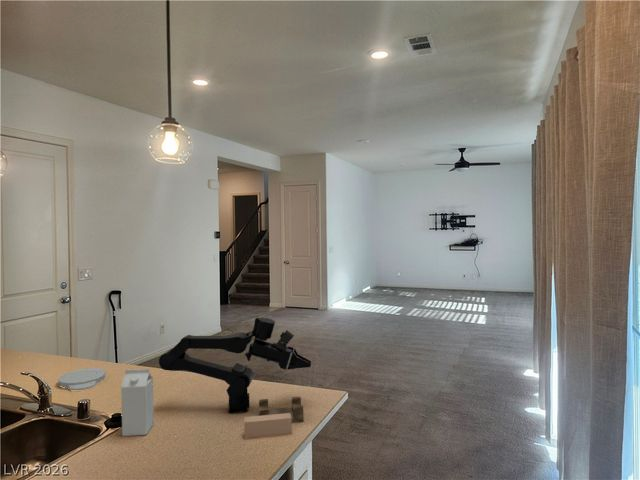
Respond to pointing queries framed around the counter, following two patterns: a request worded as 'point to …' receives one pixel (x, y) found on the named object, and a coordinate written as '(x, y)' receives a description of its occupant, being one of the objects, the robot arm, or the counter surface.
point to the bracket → (284, 409)
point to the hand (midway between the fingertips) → (310, 364)
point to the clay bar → (267, 425)
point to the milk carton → (137, 402)
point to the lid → (82, 378)
